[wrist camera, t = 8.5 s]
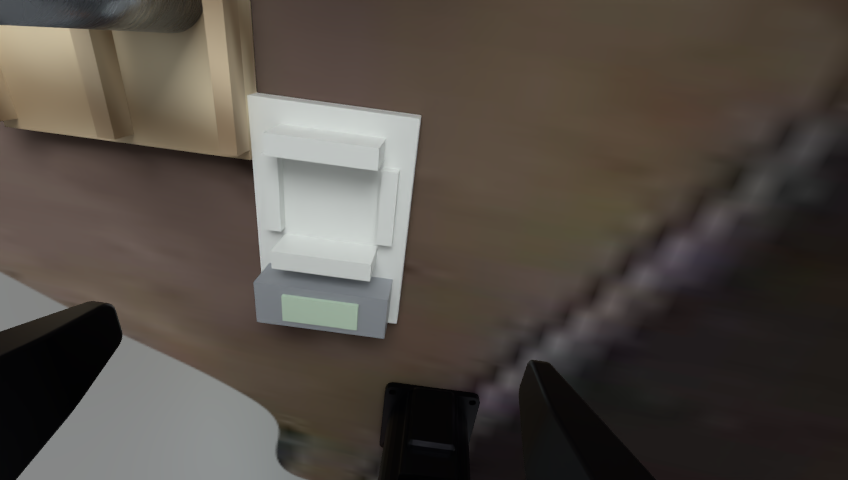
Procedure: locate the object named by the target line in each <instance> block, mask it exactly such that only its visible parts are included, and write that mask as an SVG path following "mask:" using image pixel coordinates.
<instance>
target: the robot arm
mask: <svg viewBox="0 0 848 480" xmlns="http://www.w3.org/2000/svg"><path fill="white" fill-rule="evenodd" d="M121 340H122V330H121V326H120V323H119V320H118V316H117V313H116V310H115V308H114V306H113V305H111V304H109V303H103V302H95V301H90V302H86V303H83V304H80V305H77V306H74V307H71V308H68V309H65V310H63V311H59V312H56V313H53V314H51V315H48V316H45V317H42V318H39V319H36V320H33V321H30V322H27V323H24V324H21V325H18V326H15V327H13V328H10V329H7V330H4V331H1V332H0V480H16V479H17V478H18V477H19V475H20V474H21V473H22V472H23V471H24V469H25V468H26V467H27V466H28V465H29V463H30V462H31V461H32V459H34V457H35V456H36V455H37V454H38V453H39V451H40V450H41V449H42V448H43V447H44V445H45V444H46V443H47V441H49V439H50V438H51V437H52V436H53V435H54V433H55V432H56V431H57V430H58V429H59V427H60V426H61V425H62V424H63V423H64V421H65V420H66V419H67V418H68V416H69V415H70V414H71V413H72V411H73V410H74V409H75V407H76V406H77V405H78V403H79V402H80V401H81V399H82V398H83V396H84V395H85V393H86V392H87V391H88V389H89V388H90V386H91V385H92V383H93V382H94V381H95V379H96V377H97V376H98V375H99V373H100V372H101V371H102V369H103V368H104V366H105V365H106V363H107V362H108V360H109V359H110V358H111V356H112V355H113V353H114V352H115V350H116V349H117V348H118V346H119V344H120V342H121ZM471 400H473V401H471ZM479 404H480V401H479V396H478V395H477V394H475V393H470V392H462V391H454V390H447V389H439V388H432V387H424V386H417V385H409V384H402V383H394V382H392V383H388V384H387V386H386V391H385V399H384V408H383V417H382V427H381V436H380V446H381V447H383V453H382V460H381V466H380V472H379V478H378V480H470V464H469V441H470V437H471V434H472V430H473V426H474V423H475V419H476V415H477V411H478V408H479ZM519 405H520V418H521V431H522V445H523V457H524V468H525V474H526V480H656V479H655V478H654V477H653V476H652V475H651V474H650V473H649V472H648V470H647V469H646V468H645V467H644V466H643V465H642V464H641V463H640V462H639V461H638V459H637V458H636V457H635V456H634V455H633V454H632V453H631V452H630V451H629V450H628V448H627V447H626V446H625V445H624V444H623V443H622V442H621V441H620V440H619V439H618V437H617V436H616V435H615V434H614V433H613V432H612V431H611V430H610V429H609V428H608V426H607V425H606V424H605V423H604V422H603V421H602V420H601V419H600V418H599V417H598V416H597V414H596V413H595V412H594V411H593V410H592V409H591V408H590V407H589V406H588V405H587V403H586V402H585V401H584V400H583V399H582V398H581V397H580V396H579V395H578V394H577V392H576V391H575V390H574V389H573V388H572V387H571V386H570V385H569V384H568V383H567V381H566V380H565V379H564V378H563V377H562V376H561V375H560V374H559V373H558V372H557V370H556V369H555V368H554V367H553V366H552V365H551V364H550V363H548V362H544V361H537V360H531V361H529V362H528V364H527V367H526V370H525V373H524V376H523V379H522V382H521V385H520V389H519Z"/></svg>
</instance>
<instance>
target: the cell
mask: <svg viewBox="0 0 848 480" xmlns="http://www.w3.org/2000/svg"><path fill="white" fill-rule="evenodd" d="M202 12H203V6H202V0H0V25H11V26H32V27H53V28H74V29H95V30H115V31H136V32H157V33H179V32H183V31H186V30H188V29H189V28H191V27H192V26H193V25H194V24H195V23H196V22H197V21H198V20H199V18H200V16H201V14H202Z"/></svg>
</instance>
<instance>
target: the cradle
mask: <svg viewBox="0 0 848 480" xmlns="http://www.w3.org/2000/svg"><path fill="white" fill-rule="evenodd" d="M247 99H248V112H249V124H250V137H251V149H252V161H253V174H254V186H255V199H256V211H257V223H258V236H259V248H260V261H261V274H260V275H259V276H258V277H257V279H256V280H255V281H254V282H253V283H254V293H255V304H256V315H257V322H262V323H269V324H277V325H284V326H292V327H299V328H307V329H314V330H322V331H329V332H337V333H344V334H352V335H359V336H367V337H374V338H382V339H384V337H385V332H386V328H387V323H395V324H397V319H398V313H399V305H400V296H401V287H402V279H403V270H404V262H405V253H406V245H407V236H408V227H409V219H410V210H411V202H412V193H413V184H414V176H415V167H416V159H417V150H418V141H419V133H420V124H421V116H422V115H416V114H409V113H402V112H394V111H387V110H380V109H372V108H365V107H358V106H351V105H343V104H336V103H329V102H322V101H314V100H307V99H300V98H293V97H285V96H278V95H271V94H263V93H253V94H249V95H247Z"/></svg>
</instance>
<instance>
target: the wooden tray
mask: <svg viewBox="0 0 848 480" xmlns="http://www.w3.org/2000/svg"><path fill="white" fill-rule="evenodd" d="M202 6H203V12H202V14H201V16H200V18H199V20H198V21H197V22H196V23H195V24H194V25H193V26H192V27H191V28H189V29H188V30H186V31H183V32H179V33H157V32H136V31H115V30H95V29H74V28H53V27H32V26H11V25H0V121H3V122H4V125H5V127H11V128H19V129H26V130H33V131H41V132H48V133H55V134H63V135H70V136H77V137H85V138H92V139H99V140H107V141H114V142H121V143H129V144H136V145H143V146H151V147H158V148H165V149H173V150H180V151H187V152H195V153H202V154H209V155H217V156H224V157H231V158H239V159H246V160H251V159H252V149H251V137H250V124H249V112H248V99H247V95H249V94H253V93H257V89H256V74H255V60H254V46H253V31H252V17H251V2H250V0H202Z"/></svg>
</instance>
